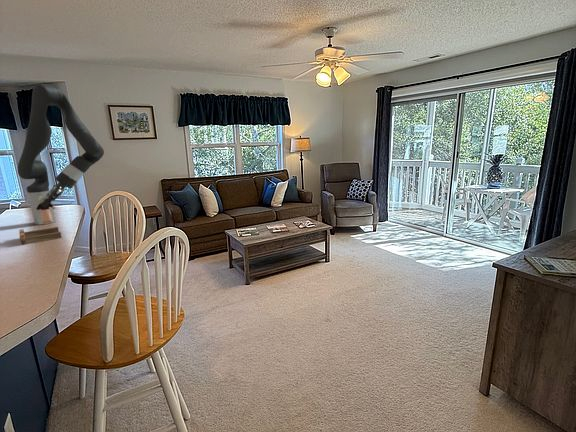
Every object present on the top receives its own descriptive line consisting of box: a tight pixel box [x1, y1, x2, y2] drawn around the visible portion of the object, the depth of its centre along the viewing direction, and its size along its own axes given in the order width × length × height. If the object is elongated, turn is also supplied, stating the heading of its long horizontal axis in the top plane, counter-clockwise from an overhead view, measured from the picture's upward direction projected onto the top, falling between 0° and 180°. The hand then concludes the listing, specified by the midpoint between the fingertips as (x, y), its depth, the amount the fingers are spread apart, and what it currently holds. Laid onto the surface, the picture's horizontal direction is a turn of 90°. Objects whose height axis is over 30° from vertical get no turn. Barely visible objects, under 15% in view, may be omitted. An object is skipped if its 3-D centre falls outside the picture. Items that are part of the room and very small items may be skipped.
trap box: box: [18, 226, 63, 246], centre depth 141 cm, size 13×14×4 cm
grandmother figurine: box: [35, 195, 56, 225], centre depth 140 cm, size 8×4×13 cm, turn 161°
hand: (42, 205), depth 140 cm, fingers closed on grandmother figurine, 3 cm apart
